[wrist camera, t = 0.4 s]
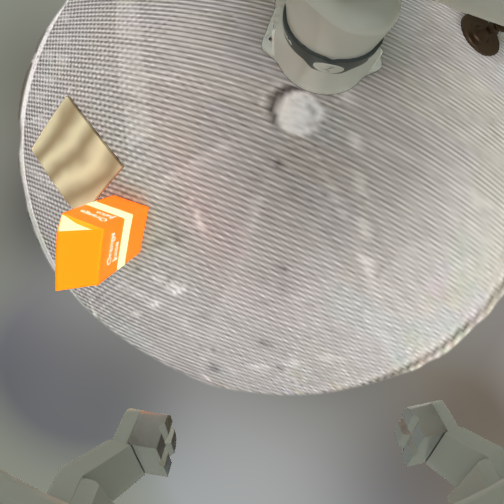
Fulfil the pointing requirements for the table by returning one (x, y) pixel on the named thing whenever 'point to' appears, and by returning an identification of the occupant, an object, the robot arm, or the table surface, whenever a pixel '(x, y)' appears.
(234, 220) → the table surface
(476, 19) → the candlestick
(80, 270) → the orange juice
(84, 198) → the board
